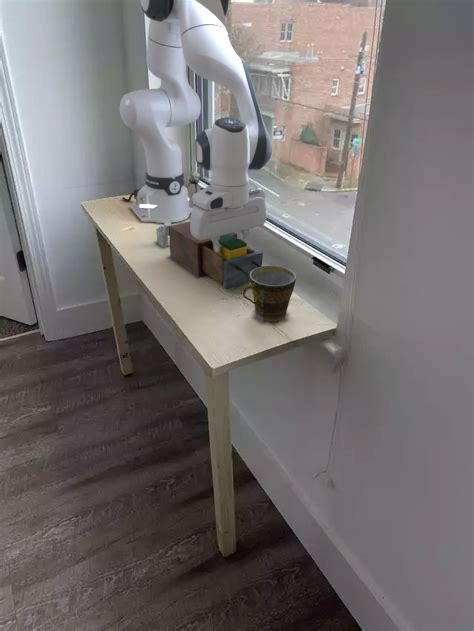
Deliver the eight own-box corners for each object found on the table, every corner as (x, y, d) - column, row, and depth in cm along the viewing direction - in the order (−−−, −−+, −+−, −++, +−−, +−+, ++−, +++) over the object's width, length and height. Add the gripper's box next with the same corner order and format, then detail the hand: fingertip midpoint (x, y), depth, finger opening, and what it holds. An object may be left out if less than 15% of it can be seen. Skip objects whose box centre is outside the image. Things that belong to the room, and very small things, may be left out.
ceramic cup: (273, 300, 120) (275, 261, 115) (302, 318, 113) (306, 277, 108) (228, 316, 113) (229, 276, 108) (256, 336, 106) (258, 294, 101)
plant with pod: (221, 237, 153) (221, 170, 143) (185, 242, 150) (182, 174, 140) (212, 228, 160) (212, 163, 150) (177, 232, 156) (175, 166, 146)
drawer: (276, 287, 124) (277, 260, 120) (239, 300, 118) (240, 271, 114) (230, 260, 137) (231, 235, 133) (196, 270, 131) (195, 244, 128)
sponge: (229, 262, 122) (230, 247, 121) (213, 252, 128) (212, 237, 126) (246, 257, 125) (246, 243, 123) (229, 247, 130) (229, 233, 128)
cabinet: (236, 265, 136) (237, 233, 132) (198, 276, 130) (197, 243, 126) (207, 247, 146) (206, 217, 142) (170, 257, 140) (168, 226, 136)
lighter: (156, 242, 149) (155, 216, 145) (162, 241, 150) (160, 215, 146) (167, 251, 144) (166, 224, 140) (173, 249, 145) (171, 223, 141)
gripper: (257, 183, 126) (255, 236, 133) (185, 197, 116) (187, 253, 123) (273, 189, 122) (270, 243, 129) (200, 204, 111) (201, 262, 118)
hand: (229, 248), depth 125 cm, fingers closed on sponge, 5 cm apart
